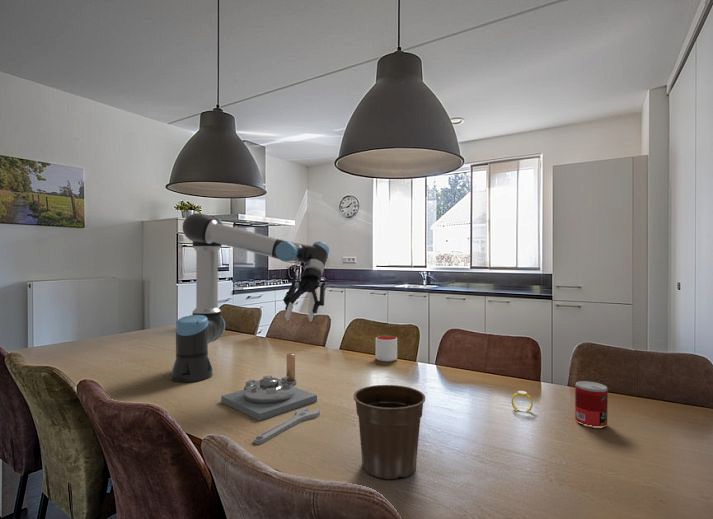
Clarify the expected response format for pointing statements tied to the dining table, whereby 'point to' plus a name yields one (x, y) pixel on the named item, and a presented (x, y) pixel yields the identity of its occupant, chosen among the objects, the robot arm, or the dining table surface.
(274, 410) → the base plate
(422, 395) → the plant pot
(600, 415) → the canned food
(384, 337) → the cup
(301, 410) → the adjustable wrench
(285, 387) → the metal rotary base
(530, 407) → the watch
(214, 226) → the robot arm
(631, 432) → the dining table surface
